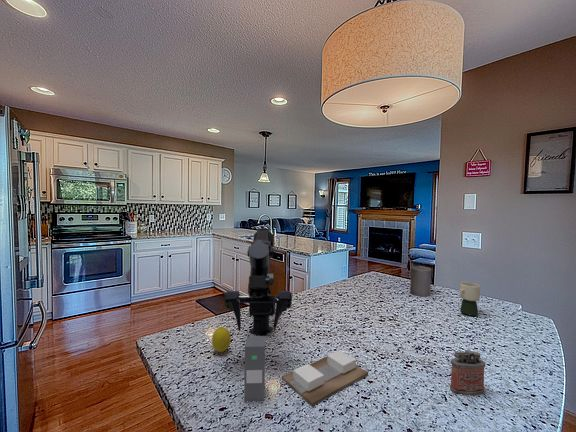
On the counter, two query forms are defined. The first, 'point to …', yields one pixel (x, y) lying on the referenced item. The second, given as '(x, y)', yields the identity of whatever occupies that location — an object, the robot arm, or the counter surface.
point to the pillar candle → (420, 281)
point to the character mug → (469, 297)
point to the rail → (326, 370)
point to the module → (254, 369)
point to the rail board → (327, 383)
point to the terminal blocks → (314, 378)
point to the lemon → (221, 339)
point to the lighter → (467, 373)
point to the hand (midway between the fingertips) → (256, 330)
